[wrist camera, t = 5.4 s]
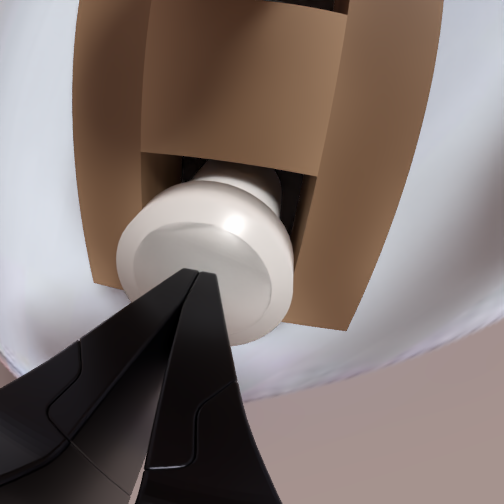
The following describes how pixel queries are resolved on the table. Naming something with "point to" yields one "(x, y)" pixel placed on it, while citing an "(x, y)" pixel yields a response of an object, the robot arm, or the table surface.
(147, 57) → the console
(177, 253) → the grey plug
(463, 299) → the table surface
